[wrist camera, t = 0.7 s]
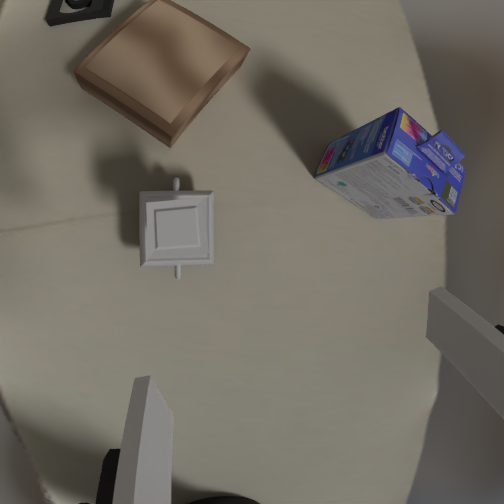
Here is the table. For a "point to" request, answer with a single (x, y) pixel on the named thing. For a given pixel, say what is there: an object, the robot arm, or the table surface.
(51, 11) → the vhs tape
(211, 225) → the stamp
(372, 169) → the ink cartridge box
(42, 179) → the table surface
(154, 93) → the plinth
